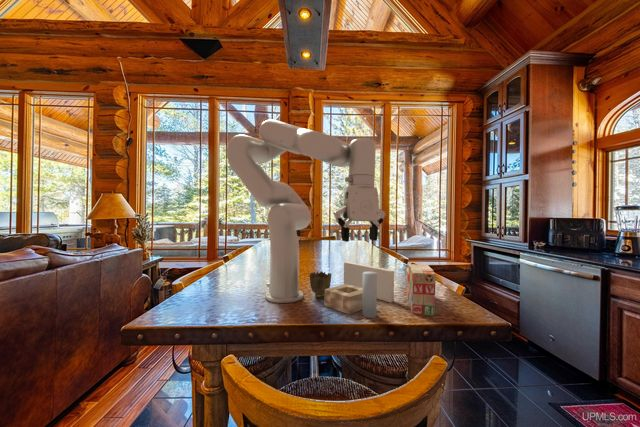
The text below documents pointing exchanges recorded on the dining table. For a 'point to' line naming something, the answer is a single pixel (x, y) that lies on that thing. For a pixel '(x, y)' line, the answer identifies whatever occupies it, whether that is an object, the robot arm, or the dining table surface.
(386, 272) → the backstop wall
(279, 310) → the dining table surface
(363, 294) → the dowel
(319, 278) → the cup
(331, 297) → the socket block
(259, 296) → the dining table surface
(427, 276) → the stack of blocks
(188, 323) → the dining table surface
